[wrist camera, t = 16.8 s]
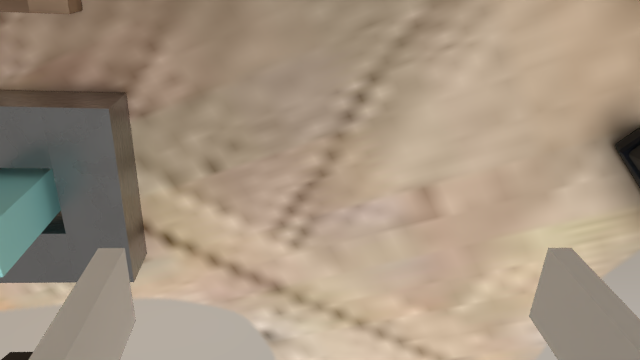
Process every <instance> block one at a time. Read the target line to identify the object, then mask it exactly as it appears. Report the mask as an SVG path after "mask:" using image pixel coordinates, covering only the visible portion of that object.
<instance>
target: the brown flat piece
mask: <svg viewBox="0 0 640 360" xmlns="http://www.w3.org/2000/svg"><path fill="white" fill-rule="evenodd" d="M81 10H82V4H81V0H0V12H27V13H56V14H71V13H75V12H78V11H81Z"/></svg>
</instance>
